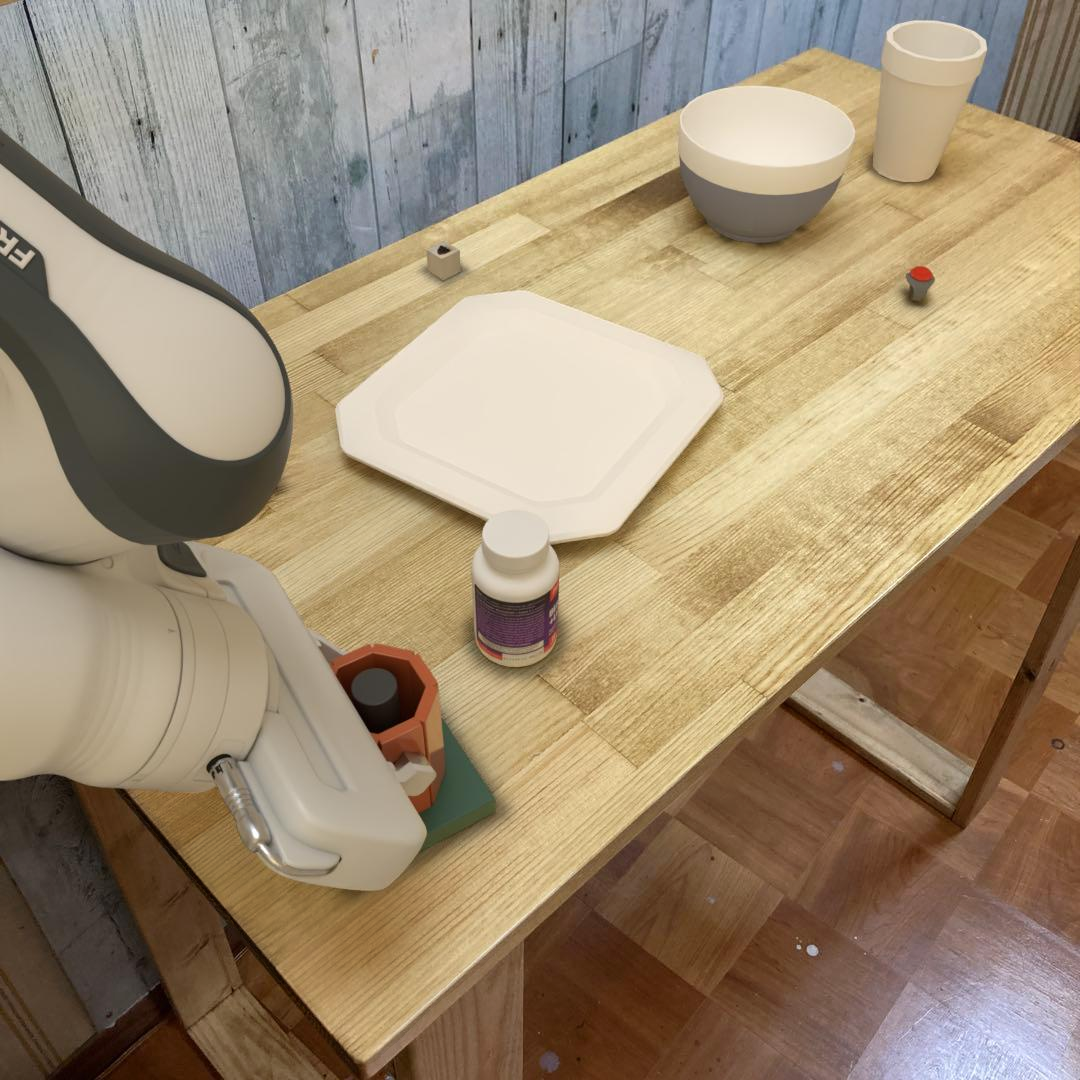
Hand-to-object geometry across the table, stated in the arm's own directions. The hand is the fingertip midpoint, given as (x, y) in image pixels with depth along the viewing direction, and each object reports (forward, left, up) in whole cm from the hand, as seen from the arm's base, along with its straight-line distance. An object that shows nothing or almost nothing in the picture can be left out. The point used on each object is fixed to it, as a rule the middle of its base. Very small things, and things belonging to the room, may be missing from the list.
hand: (391, 722), depth 61 cm
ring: (+61, +21, -6) cm, 65 cm away
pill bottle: (+11, +6, -6) cm, 14 cm away
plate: (+23, +24, -6) cm, 34 cm away
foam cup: (+77, +39, -6) cm, 87 cm away
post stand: (-1, 0, -6) cm, 6 cm away
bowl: (+57, +39, -6) cm, 70 cm away
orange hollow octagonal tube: (-1, 0, -5) cm, 5 cm away
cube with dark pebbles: (+27, +46, -6) cm, 54 cm away
